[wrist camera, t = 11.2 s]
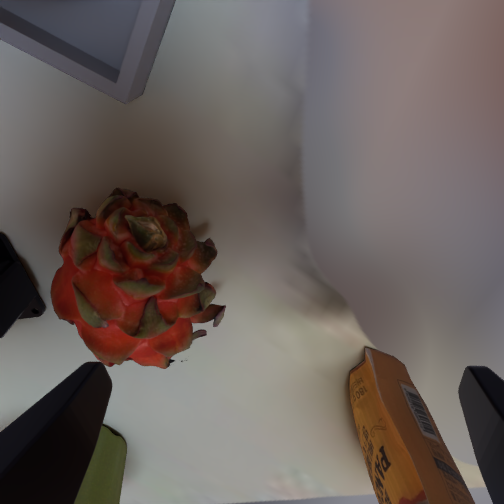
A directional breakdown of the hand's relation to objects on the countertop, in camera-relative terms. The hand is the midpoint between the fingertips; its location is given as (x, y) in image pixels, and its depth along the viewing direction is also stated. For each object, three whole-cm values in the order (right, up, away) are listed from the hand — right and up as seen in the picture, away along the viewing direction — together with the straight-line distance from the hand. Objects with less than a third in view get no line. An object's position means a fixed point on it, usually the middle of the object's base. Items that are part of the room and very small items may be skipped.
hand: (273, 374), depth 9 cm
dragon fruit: (-7, +3, +15) cm, 16 cm away
